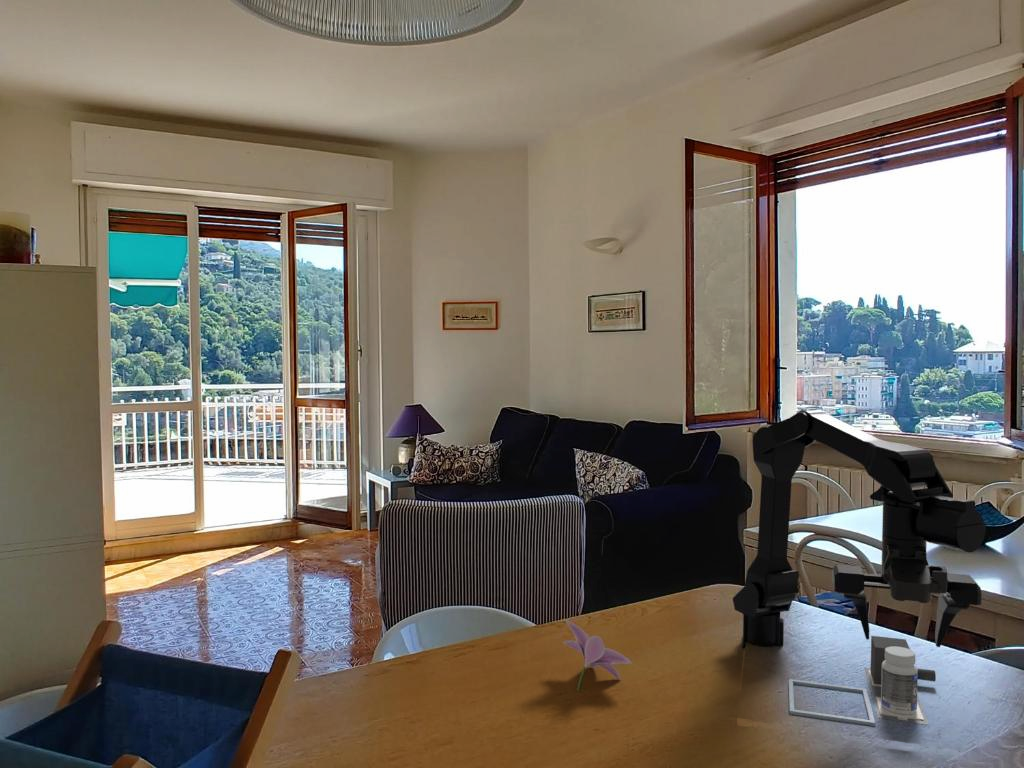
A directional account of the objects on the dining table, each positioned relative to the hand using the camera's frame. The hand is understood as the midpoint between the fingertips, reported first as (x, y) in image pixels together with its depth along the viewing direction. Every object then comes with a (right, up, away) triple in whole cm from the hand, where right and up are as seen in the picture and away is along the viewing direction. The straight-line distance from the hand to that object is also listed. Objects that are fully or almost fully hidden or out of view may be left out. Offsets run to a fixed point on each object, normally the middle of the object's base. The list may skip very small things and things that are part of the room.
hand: (902, 642), depth 113 cm
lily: (-43, -11, +12) cm, 46 cm away
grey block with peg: (+5, -9, +10) cm, 14 cm away
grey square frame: (-9, -11, +3) cm, 14 cm away
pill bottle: (0, -10, +1) cm, 10 cm away
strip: (+2, -11, +6) cm, 12 cm away
